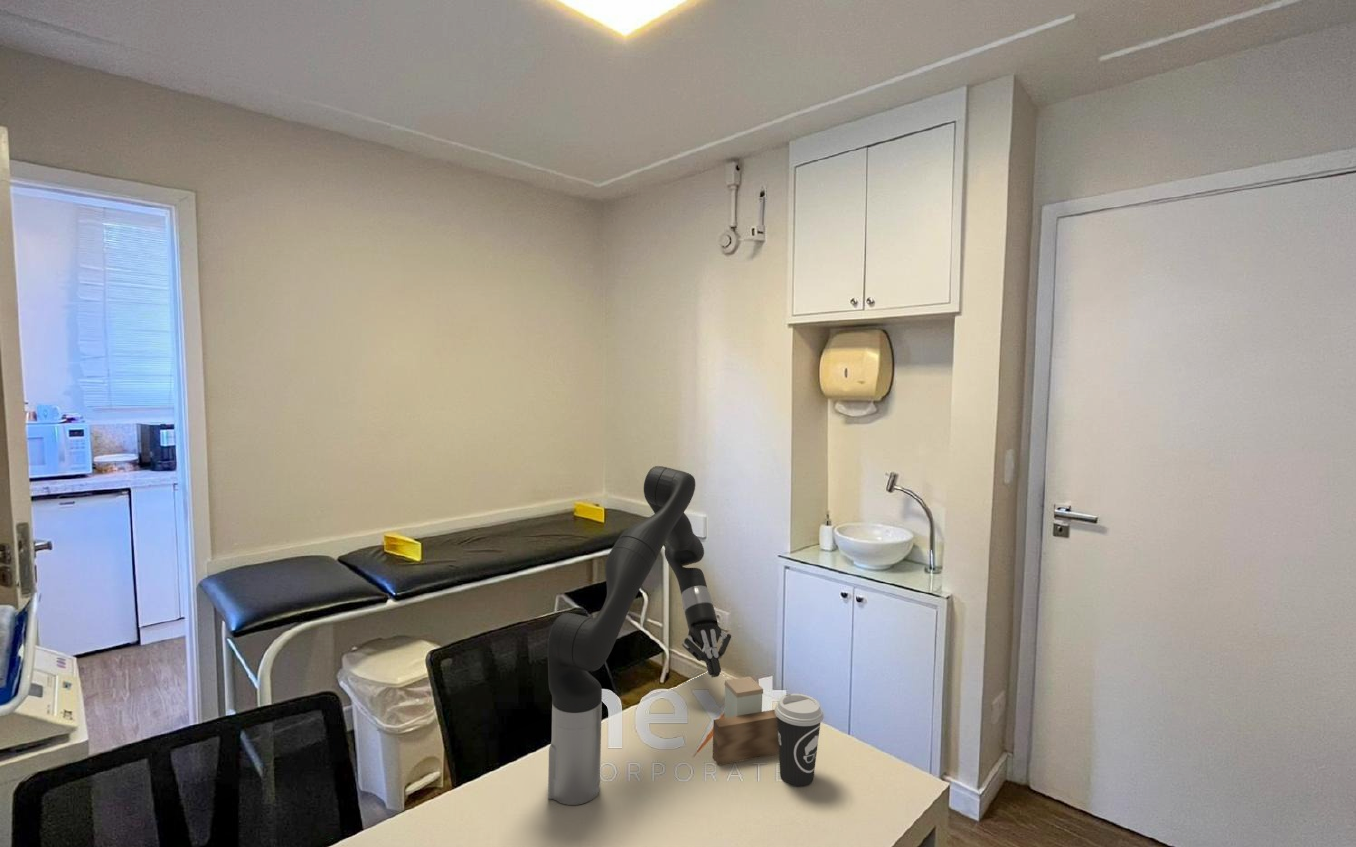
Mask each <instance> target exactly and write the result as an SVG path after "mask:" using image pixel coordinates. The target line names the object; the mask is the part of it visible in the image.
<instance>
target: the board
mask: <svg viewBox="0 0 1356 847" xmlns="http://www.w3.org/2000/svg"><path fill="white" fill-rule="evenodd" d="M774 710H775V709H770V710H764V711H763V710H762V712H757V713H751V714H745V715H739V716H733V717H727V718H724V717H721V718H717V719H715V718H714V719H713V721H712V723H713V726H712V759H713V760H714V762H715V763H716V764H717V766H722V765H728V764H732V763H736V762H743V761H747V760H753V759H757V758H758V759H759V758H763V757H768V756H774V755H779V743H778V724H777V716H776V714H775V712H774Z"/></svg>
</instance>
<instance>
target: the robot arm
mask: <svg viewBox="0 0 1356 847" xmlns="http://www.w3.org/2000/svg"><path fill="white" fill-rule="evenodd" d="M695 490H696V479H695V477H694V476H693V475H692V474H691V473H689V472H686V471H682V470H680V469H676V468H671V467H666V466H662V465H661V466H659V465H655V466H653V467H651V468H650V469H649V471H648V472H647V474H646V475H645V478H644V482H643V496H644V498H645V500H646V502H647V504H648V506H649V507H650V509H651V510H652V511H653V513H654V514H652V515H651V516H649V517H647V518H646V519H643V520H641V521H639V522H637V523H636V524H634V525H632V526H630V527H629V528H627V529H626V530H624V531H623V532H622V533H621V534H620V535H619V537H618V539H617V540H616V542H615V543H614V545H613V547H612V548H611V550H610V551H609V553H608V555H607V557H606V560H605V567H604V568H605V569H604V570H605V580H606V582H605V583H606V596H605V599H604V603H603V606H602V608H600V611H599V612H598V614H596V616H595V617H590V616H584V615H581V614H576V613H573V612H572V613H571V612H570V613H569V612H566V613H562V614H561V615H559V616H558V617H557V618H556V619H555V620H554V621H553V624H552V626H551V628H550V630H549V633H548V634H549V635H548V639H547V670H548V671H547V673H548V677H547V678H548V689H549V692H550V694H551V705H552V706H551V707H552V708H551V742H550V746H549V747H548V748H549V749H548V777H547V778H548V780H547V781H548V784H547V788H548V789H547V799H548V800H555V801H556V802H558V803H560V804H562V805H567V806H579V805H581V804H585V803H588V802H590V801H591V800H593V799H594V798H596V797H597V796H598V794H599V793H600V790H601V762H602V761H601V758H602V756H601V755H602V753H601V751H602V750H601V749H602V712H603V711H602V705H603V689H602V685H601V683H600V682H599V680H598V679H597V678H595V677H594V676H593V675H592V674H590V673H589V672H595V671H597V670H599V669H600V668H602V667H603V665H604V664H605V663H606V661H607V659H608V658H609V657H610V654H611V652H612V650H613V648H614V645H615V643H616V642H617V639H618V636H619V634H620V632H621V629H622V627H623V625H624V622H625V620H626V618H627V615H628V613H629V611H630V609H631V607H632V605H633V603H634V601H635V599H636V597H637V595H638V593H639V591H640V589H641V588H642V586H643V584H644V582H645V581H646V579H647V577H648V576H649V574H650V572H651V570H652V569H653V567H654V565H655V563H656V561H657V559H658V557H659V555H660V552H661V550H662V549H663V546H664V545H665V543H666V541H667V544H666V545H665V548H664V557H665V559H666V562H667V563H668V565H669V567H670V568H671V570H672V571H673V573H674V575H675V578H676V581H677V583H678V587H679V591H680V595H681V599H682V600H681V603H682V609H683V612H684V617H685V620H686V623H687V629H688V635H687V636H688V637H686V638H685V639H684V640H683V641H682V644H681V646H682V647H683V648H684V649H685V650H686V651H687V652H688V653H690V655H691V656H693V657H694V658H695V660H697V661H699V662H701V661H703V662H705V665H706V669H707V673H708V675H709V676H711V678H718V677H719V676H720V675H721V674H720V673H721V672H722V667H721V664H720V660H721V658H722V657H723V655H725V652H726V650H727V648H728V646H729V643H730V641H731V639H732V634H730V633H727V634H726V633H724V632H723V631H722V628H721V626H720V625H719V624H718V623H719V622H718V618H717V614H716V611H715V607H714V604H713V600H712V599H713V598H712V596H711V594H710V591H709V589H708V586H707V582H706V579H705V575H704V571H703V570H702V569H701V568H698V567H686V566H688V565H692V564H696V563H699V562H701V561H702V560H703V558H704V555H705V549H704V546H703V545H704V544H703V543H702V541H701V539H699V537H698V536H697V535H696V534H695V533H694V531H693V527H692V523H691V521H690V519H689V517H688V516H687V514H686V513H685V511H686V510H687V508H688V507H689V505H690V503H691V501H692V498H693V496H694V495H695ZM719 641H720V643H721V644H720V648H719V650H718V642H719ZM719 659H720V660H719Z"/></svg>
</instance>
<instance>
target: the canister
mask: <svg viewBox="0 0 1356 847" xmlns="http://www.w3.org/2000/svg"><path fill="white" fill-rule="evenodd" d="M763 694H764V688H763V687H762V686H761V685H760V684H759V683H758V682H756V681H755V680H754V679H753V678H752V677H751V676H743V677H736V678H731V679H724V711H723V713H724V714H723V718H727V717H733V716H739V715H745V714H751V713H757V712H763Z"/></svg>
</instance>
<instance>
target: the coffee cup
mask: <svg viewBox="0 0 1356 847" xmlns="http://www.w3.org/2000/svg"><path fill="white" fill-rule="evenodd" d="M778 699H779V700H778V702H776V705H775V707H774V709H773V710H774V712H775V714H776V716H777V724H778V743H779V754H778V755H779V756H778V758H779V776H780V778H781V780H782V781H783V782H784V783H785V784H787V785H789V786H792V787H797V788H804V787H808V786H810V785H811V784H812V783H813V781H814V777H815V769H816V768H815V767H816V762H817V753H818V752H817V751H818V746H819V745H818V744H819V736H820V731H821V730H820V729H821V723H822V722H823V720H824V718H825V716H824V711H823V709H822V707H821V705H820V703H819V700H816V699H815V698H814V697H812V696H809V695H806V694H804V693H803V694H801V693H788V694H783V695H782V696H781V697H780V698H778Z"/></svg>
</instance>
